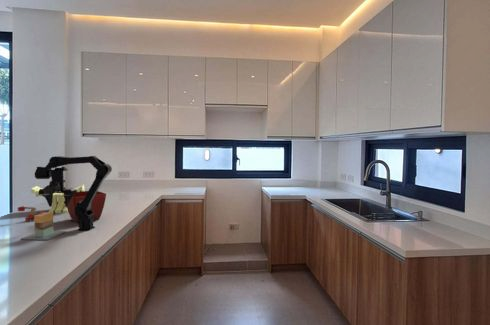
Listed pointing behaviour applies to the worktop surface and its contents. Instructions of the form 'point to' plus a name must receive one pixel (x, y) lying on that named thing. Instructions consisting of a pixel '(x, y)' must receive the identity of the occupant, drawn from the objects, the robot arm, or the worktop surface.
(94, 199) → the plant pot
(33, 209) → the toy fire truck
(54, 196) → the slatted curved stool
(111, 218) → the worktop surface
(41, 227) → the walnut brick
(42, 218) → the orange brick
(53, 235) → the baseplate
